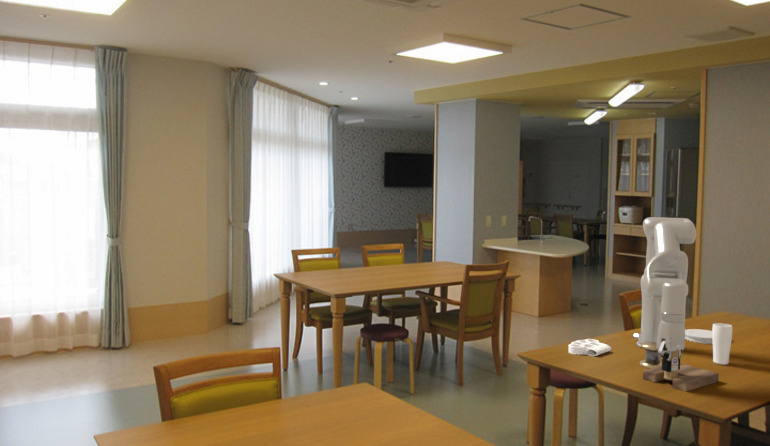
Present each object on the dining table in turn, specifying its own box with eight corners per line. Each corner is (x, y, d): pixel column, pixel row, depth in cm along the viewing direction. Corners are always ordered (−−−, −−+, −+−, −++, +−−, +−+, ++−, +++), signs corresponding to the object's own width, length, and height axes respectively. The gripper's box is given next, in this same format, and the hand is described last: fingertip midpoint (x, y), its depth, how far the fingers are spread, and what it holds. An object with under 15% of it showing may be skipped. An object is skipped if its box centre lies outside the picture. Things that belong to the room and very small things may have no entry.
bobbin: (634, 364, 235) (635, 343, 235) (648, 360, 240) (649, 340, 239) (656, 370, 227) (657, 349, 227) (670, 366, 232) (671, 345, 232)
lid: (739, 345, 267) (740, 338, 267) (693, 344, 268) (693, 337, 267) (718, 335, 285) (719, 329, 284) (675, 335, 285) (675, 328, 285)
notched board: (642, 378, 217) (642, 370, 217) (675, 370, 228) (675, 362, 228) (685, 391, 204) (686, 382, 204) (718, 381, 215) (718, 373, 215)
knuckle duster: (592, 359, 243) (559, 351, 253) (614, 351, 255) (582, 344, 265) (593, 351, 242) (560, 343, 253) (615, 343, 255) (582, 337, 265)
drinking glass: (733, 366, 234) (735, 327, 233) (714, 365, 235) (715, 326, 234) (727, 361, 241) (728, 323, 240) (708, 360, 242) (710, 322, 241)
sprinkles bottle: (671, 381, 210) (672, 342, 209) (660, 377, 214) (661, 339, 213) (680, 379, 212) (682, 341, 211) (669, 376, 216) (671, 338, 215)
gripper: (676, 313, 219) (674, 363, 220) (648, 318, 210) (646, 371, 211) (697, 317, 213) (694, 369, 214) (668, 322, 204) (666, 376, 205)
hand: (670, 369), depth 213 cm, fingers closed on sprinkles bottle, 4 cm apart
